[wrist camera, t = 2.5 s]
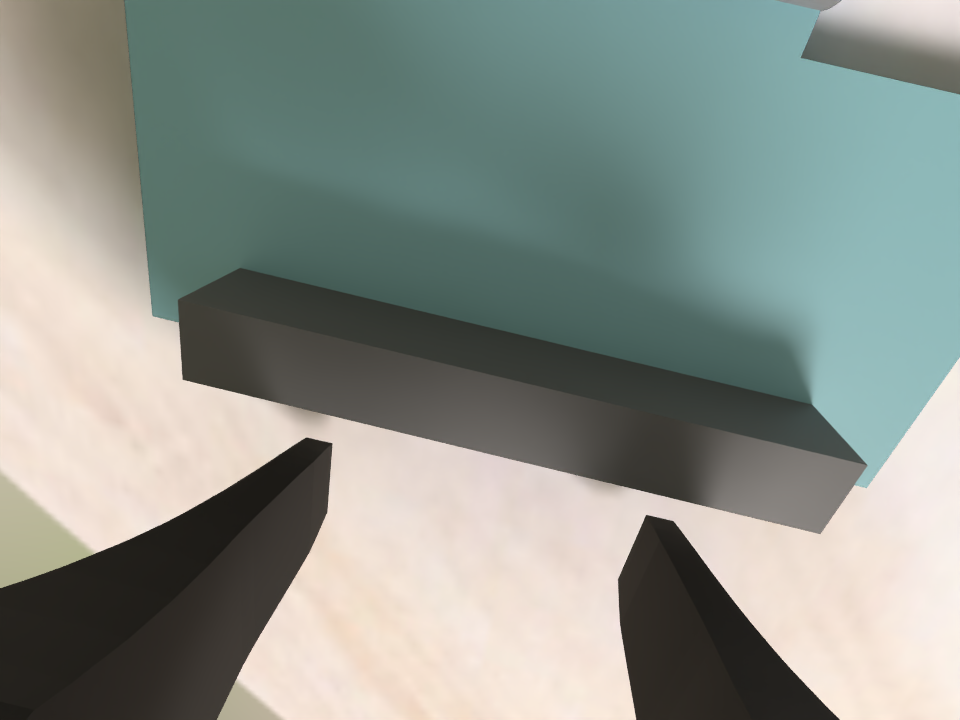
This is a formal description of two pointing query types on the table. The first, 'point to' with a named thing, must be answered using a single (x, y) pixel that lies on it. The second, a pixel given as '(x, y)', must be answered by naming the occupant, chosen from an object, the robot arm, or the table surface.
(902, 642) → the table surface
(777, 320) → the teal hinge plate
